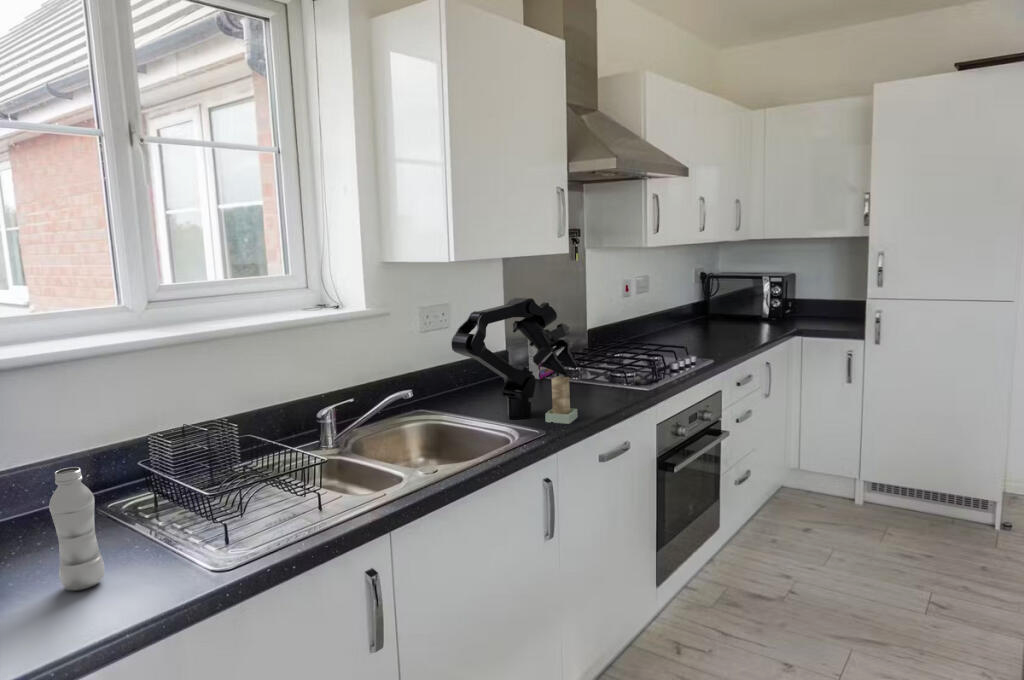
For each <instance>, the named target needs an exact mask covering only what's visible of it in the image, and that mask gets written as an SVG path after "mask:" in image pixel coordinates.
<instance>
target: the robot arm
mask: <svg viewBox="0 0 1024 680" xmlns="http://www.w3.org/2000/svg"><path fill="white" fill-rule="evenodd" d="M511 318H522V319H521V320H514V321H513V323H512V333H516V332H517V331H519V332H520V333H521V334H522V335H523V336H524V337H525V338H526V339H528V340H529V341H530V342H531V343H530V345H531V346H535V347H536V348H537V349H538V350H539V351H538V352H537V353H536V354H535V355H534V356H533V362H534V363H535V364H536V365H537V366H538V365H540V364H541V363H542V362H543V363H542V364H541V365H540V366H541V367H545V368H548V369H550V370H553V371H554V372H555V373H558V374H561V375H562V376H566V375H567V374H568V371H567V370H566V369H565V367H564V366H563V364H564V365H566V366H568V367H570V368H571V369H573V370H576V369H577V368H578V366H577V363H576V362H575V359H574V358H573V355H572V354H571V350H570V349H571V341H570V339H568V337H566V336H568V335H571V332H570V330H569V329H570V327H569V326H568V325H567V324H564V322H561V323H559V324H557V325H556V328H555V329H552V330H550V329H549V328H547V327H548V326H549V325H551V324H552V323H554V322H555V321H556V320H557V318H558V315H557V311H556V310H555V309H554V308H553V307H552V306H550V304H549V302H542V303H541V304H540V305H538V304H537V303H536V301H535V300H534V298H532V297H530V298H529V297H514V298H513V299H511V300H509V301H507V303H505V304H503V305H500V306H496V307H495V306H494V307H489V308H487V309H482V310H479V311H478V310H476V311H472V312H471V313H470V314H469V316H468V318H467V319H466V320H465V321H464V322H463V323H462V324H460V326H459V327H458V328H457V330H456V332H455V334H454V335H453V336H452V338H451V345H450V346H451V349H452V351H453V352H454V353H456V354H459V355H461V356H464V357H468V358H472V359H474V360H476V361H478V362H479V363H480V364H482V365H483V366H485V367H486V368H487V369H489V370H490V371H492V372H494V373H495V374H497V375H498V376H499V377H501V378H502V379H503V381H504V385H503V387H502V388H501V391H500V392H501V394H502V397H506V398H507V400H506V401H507V413H506V415H507V418H508V417H509V418H508V419H509V420H520V419H521V420H522V419H531V415H532V401H531V399H532V398H533V397H534V395H535V388H536V383H537V380H536V379H535V376H534V375H533V374H532V373H533V372H532V371H529V368H528V367H526V366H522V365H516V364H510V363H508V362H507V361H505V360H504V359H503V358H501V357H500V356H498V355H497V354H496V353H495V352H493V351H491V350H490V349H488V348H487V346H486V342H485V340H486V337H487V327H488V325H489V324H490V325H491V324H493V323H496V322H501V321H504V320H508V319H511ZM475 328H476V331H475V333H471V332H472V331H473V330H474V329H475ZM546 328H547V329H546ZM528 340H527V341H528ZM541 361H542V362H541ZM562 363H563V364H562Z"/></svg>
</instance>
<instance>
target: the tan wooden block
mask: <svg viewBox="0 0 1024 680" xmlns="http://www.w3.org/2000/svg"><path fill="white" fill-rule="evenodd" d="M570 396H571V395H570V377H569V376H554V377H553V378H551V399H552V401H551V403H552V409H553V414H565V415H569V414H570V409H571V400H570Z"/></svg>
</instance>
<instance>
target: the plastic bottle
mask: <svg viewBox="0 0 1024 680" xmlns="http://www.w3.org/2000/svg"><path fill="white" fill-rule="evenodd" d="M54 478H55V480H54V484H55V485H56V486H57V487H56V489H55V491H54V492H53V493H52V496H51V498H50V499H49V504H48V507H49V512H50V514H51V515H50V516H51V517H52V521H53V525H54V527H55V531H56V536H57V540H58V546H59V547H58V548H59V549H58V550H59V568H58V572H59V574H58V576H59V581H60V583H61V585H62V587H63V588H65V589H66V590H68V591H73V592H74V591H75V592H76V591H81V590H86V589H90V588H91V587H94V586H96V585H97V584H99V583H100V582H101V581H102V579H103V577H104V576H105V563H104V559H103V557H102V554H101V552H100V548H99V545H98V540H97V536H96V526H95V523H96V522H95V496H94V493H93V492H92V491H91V489H90V488H89V487H87V485H85V484H84V483H83V482H82V480H83V475H82V470H81V467H78V466H71V467H66V468H60V469H59V470H56V471H55V472H54Z"/></svg>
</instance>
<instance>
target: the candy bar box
mask: <svg viewBox="0 0 1024 680" xmlns="http://www.w3.org/2000/svg"><path fill="white" fill-rule="evenodd" d="M526 339H527V338H526ZM530 343H531V342H530V341H529V340H528V339H527V352H528V370H529V371H532V372H533V373H532V374H533V375H534V376H535V380H542V379H545V378H547V377H546V376H548V375H550V374H551V373H553V372H555V371H553V370H550V369H548V368H545V367H541V366H540V365H541V364H542V363H543V362H542V361H541V362H542V363H541V364H540V365H538V366H537V365H536V364H535V363H534V362H533V356H534V355H535V354H536V353H537V352H538V351H539V350H538V349H537V348H536V347H535V346H531V345H530ZM550 376H551V375H550ZM544 377H545V378H544ZM548 377H549V376H548Z"/></svg>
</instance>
